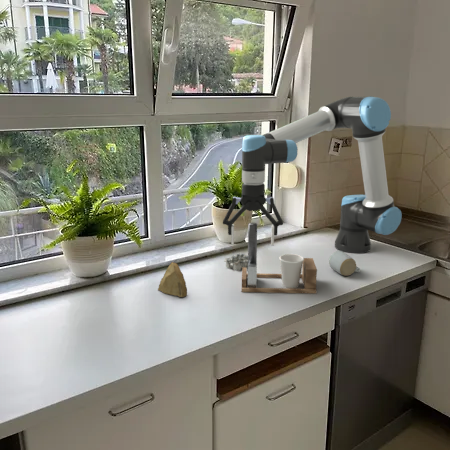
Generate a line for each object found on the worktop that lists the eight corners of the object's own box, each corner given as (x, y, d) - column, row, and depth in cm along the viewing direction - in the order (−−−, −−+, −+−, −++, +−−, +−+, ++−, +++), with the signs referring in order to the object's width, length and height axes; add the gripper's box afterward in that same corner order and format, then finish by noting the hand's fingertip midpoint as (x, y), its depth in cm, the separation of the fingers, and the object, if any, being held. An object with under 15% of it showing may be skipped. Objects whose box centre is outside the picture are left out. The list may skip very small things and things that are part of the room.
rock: (196, 289, 152) (188, 275, 161) (181, 273, 148) (173, 259, 156) (170, 310, 152) (163, 295, 161) (154, 295, 148) (148, 280, 156)
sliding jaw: (256, 277, 167) (257, 219, 161) (256, 289, 158) (257, 227, 152) (247, 277, 167) (248, 219, 161) (247, 288, 158) (248, 227, 152)
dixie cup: (285, 291, 157) (286, 263, 154) (274, 282, 164) (275, 255, 161) (307, 287, 160) (308, 260, 157) (294, 278, 167) (296, 252, 164)
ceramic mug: (340, 278, 167) (341, 258, 165) (327, 270, 175) (329, 251, 172) (364, 274, 171) (366, 255, 169) (351, 267, 178) (353, 248, 176)
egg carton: (237, 272, 174) (237, 261, 173) (222, 267, 179) (222, 257, 178) (254, 264, 182) (254, 254, 181) (239, 260, 187) (240, 250, 185)
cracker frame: (311, 277, 168) (312, 256, 166) (316, 293, 155) (317, 271, 152) (242, 276, 169) (242, 255, 167) (241, 291, 156) (241, 269, 154)
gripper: (214, 184, 150) (215, 247, 156) (292, 185, 148) (289, 248, 154) (216, 180, 157) (217, 240, 163) (290, 181, 156) (288, 241, 161)
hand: (252, 244), depth 158 cm, fingers open, 13 cm apart
